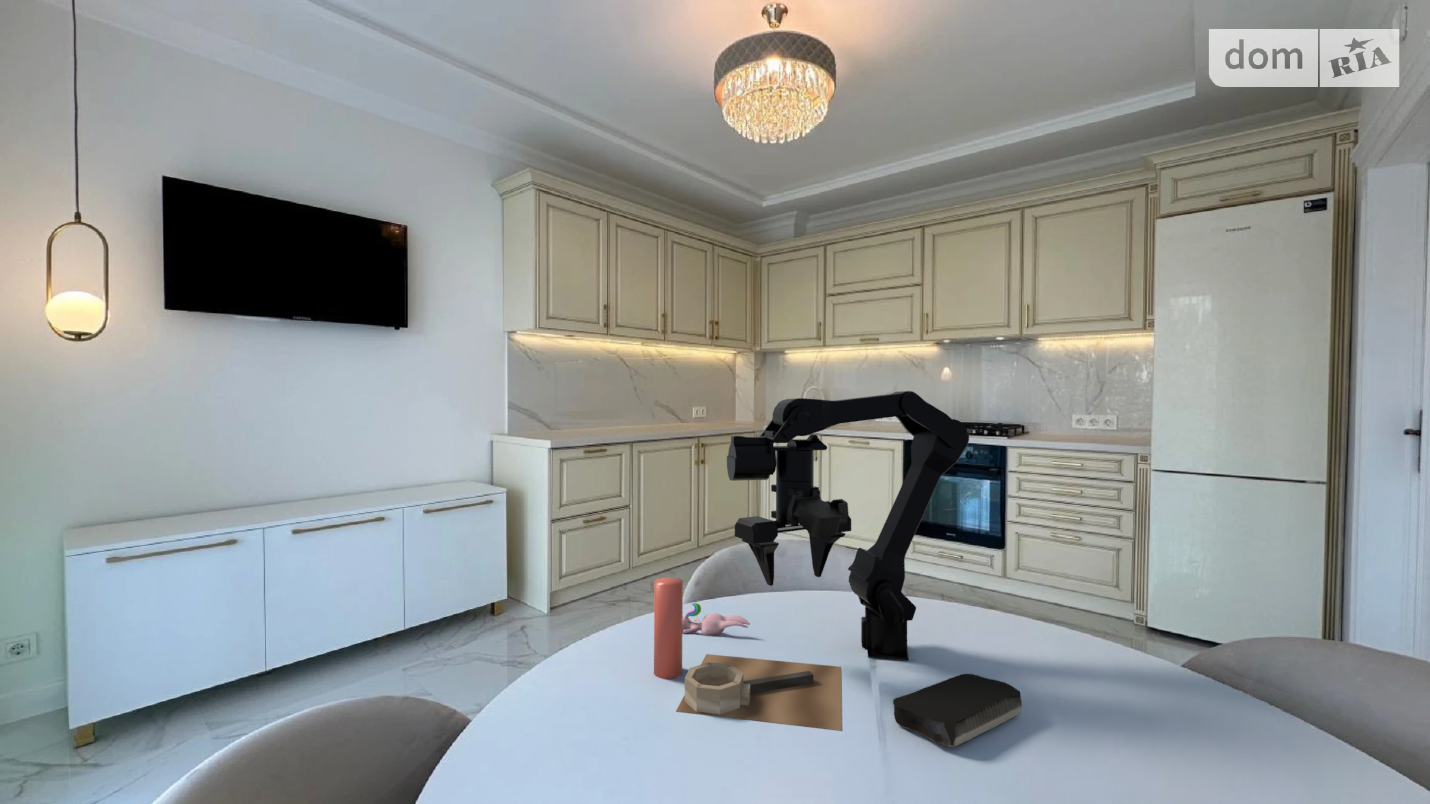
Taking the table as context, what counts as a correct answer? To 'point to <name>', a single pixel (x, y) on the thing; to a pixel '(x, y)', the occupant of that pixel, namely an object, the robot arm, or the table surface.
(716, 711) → the walnut board
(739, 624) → the rabbit figure
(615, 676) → the table surface
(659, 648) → the red plug
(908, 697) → the black sponge
